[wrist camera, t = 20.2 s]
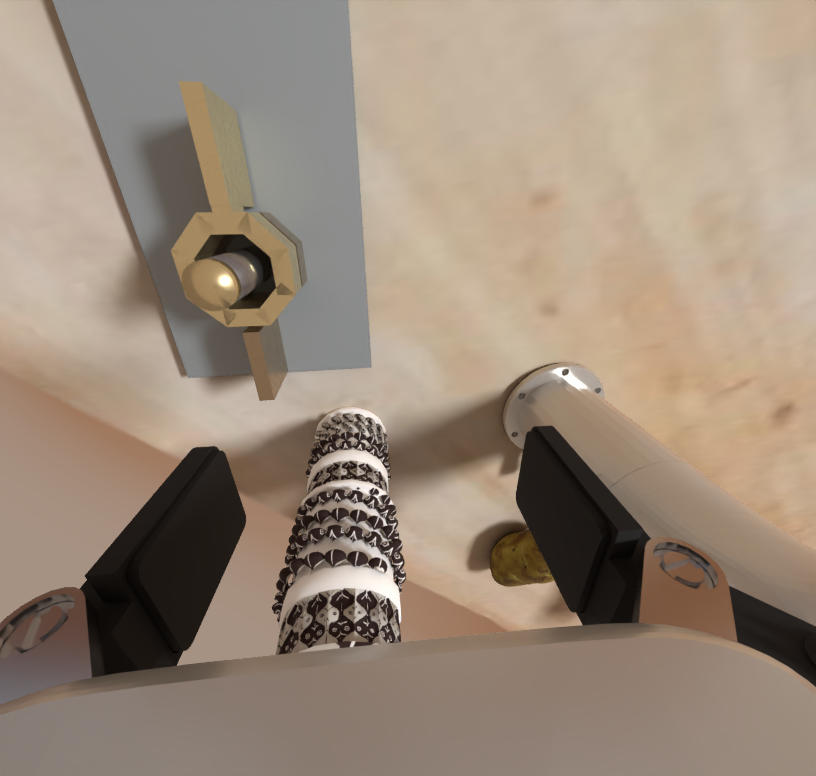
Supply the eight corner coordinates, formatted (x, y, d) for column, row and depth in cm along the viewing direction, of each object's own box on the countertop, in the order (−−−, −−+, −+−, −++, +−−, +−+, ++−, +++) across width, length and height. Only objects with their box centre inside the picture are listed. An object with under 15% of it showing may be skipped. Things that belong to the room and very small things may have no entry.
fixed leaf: (320, 368, 33) (312, 397, 28) (242, 372, 33) (219, 403, 27) (297, 212, 27) (282, 211, 22) (199, 212, 26) (158, 212, 21)
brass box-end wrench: (310, 306, 30) (300, 324, 25) (224, 309, 29) (195, 328, 24) (282, 111, 24) (261, 83, 19) (169, 108, 23) (115, 78, 18)
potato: (467, 547, 52) (484, 599, 45) (535, 503, 49) (564, 551, 42) (495, 568, 56) (515, 619, 49) (560, 528, 53) (590, 576, 46)
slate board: (371, 362, 35) (371, 367, 34) (193, 372, 33) (188, 377, 32) (348, 2, 22) (347, -9, 21) (58, -16, 21) (42, -29, 19)
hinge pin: (281, 278, 29) (240, 310, 19) (248, 279, 29) (190, 312, 19) (275, 244, 28) (227, 260, 18) (240, 244, 27) (173, 261, 18)
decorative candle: (294, 432, 38) (202, 728, 16) (356, 389, 36) (349, 652, 14) (345, 477, 42) (327, 762, 20) (403, 440, 40) (452, 705, 19)
